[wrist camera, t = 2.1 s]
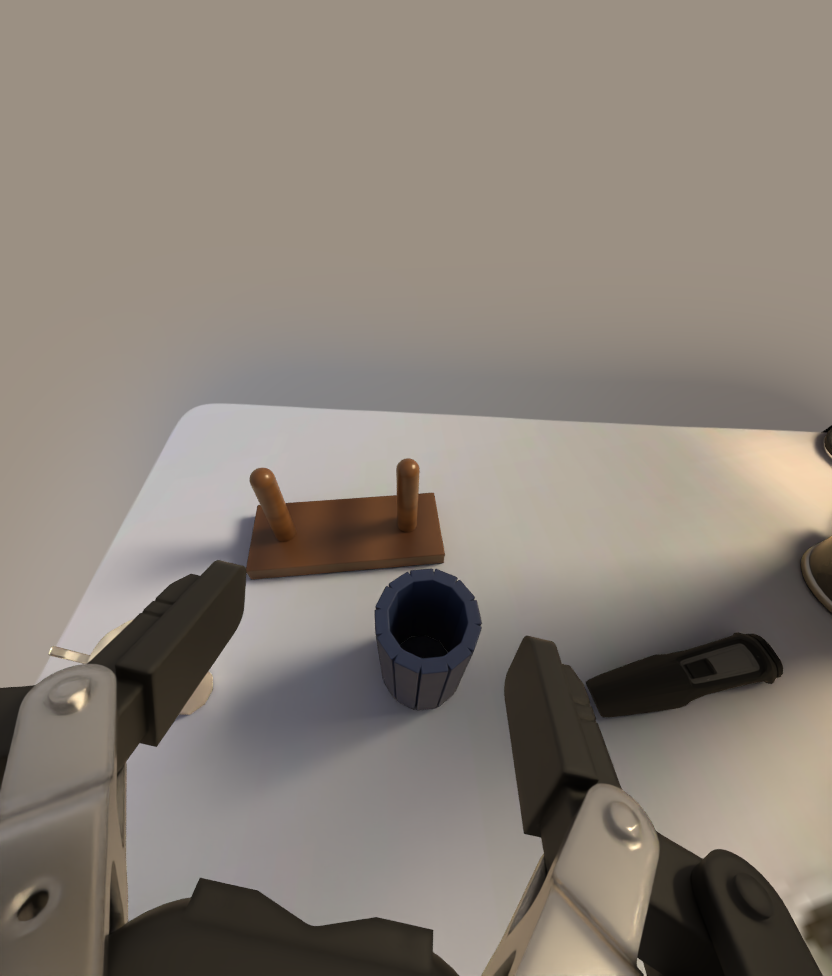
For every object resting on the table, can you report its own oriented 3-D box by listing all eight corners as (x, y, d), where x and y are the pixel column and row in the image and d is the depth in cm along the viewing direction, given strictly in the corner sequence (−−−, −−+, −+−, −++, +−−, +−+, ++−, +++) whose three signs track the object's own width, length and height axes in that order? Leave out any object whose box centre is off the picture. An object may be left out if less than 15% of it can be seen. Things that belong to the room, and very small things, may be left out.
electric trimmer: (566, 676, 30) (580, 665, 27) (741, 634, 32) (768, 620, 30) (590, 732, 28) (608, 725, 25) (776, 683, 30) (809, 672, 27)
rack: (433, 501, 40) (440, 428, 32) (443, 563, 36) (454, 495, 28) (262, 514, 38) (226, 440, 31) (251, 580, 34) (205, 513, 26)
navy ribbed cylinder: (453, 622, 32) (469, 564, 24) (467, 704, 28) (491, 666, 21) (380, 630, 32) (372, 573, 24) (384, 714, 28) (377, 679, 20)
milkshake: (158, 659, 30) (71, 608, 22) (230, 656, 30) (169, 604, 22) (133, 729, 27) (24, 697, 19) (213, 724, 27) (137, 692, 19)
